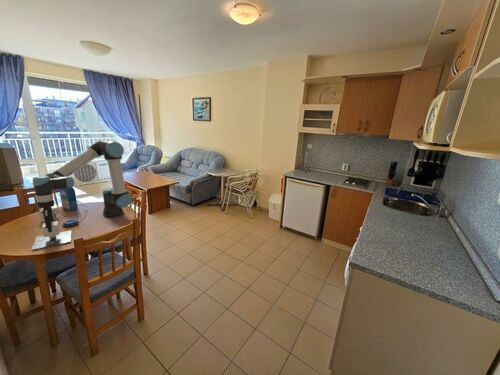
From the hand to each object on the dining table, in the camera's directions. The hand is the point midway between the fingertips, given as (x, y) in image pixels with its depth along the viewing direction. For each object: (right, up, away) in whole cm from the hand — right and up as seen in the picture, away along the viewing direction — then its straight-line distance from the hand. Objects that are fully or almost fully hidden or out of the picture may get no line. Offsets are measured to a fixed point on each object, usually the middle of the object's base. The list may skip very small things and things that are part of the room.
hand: (51, 233), depth 137 cm
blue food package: (-32, +11, +51) cm, 62 cm away
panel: (0, -5, +1) cm, 5 cm away
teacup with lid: (-28, +4, +29) cm, 41 cm away
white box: (0, 0, 0) cm, 0 cm away
